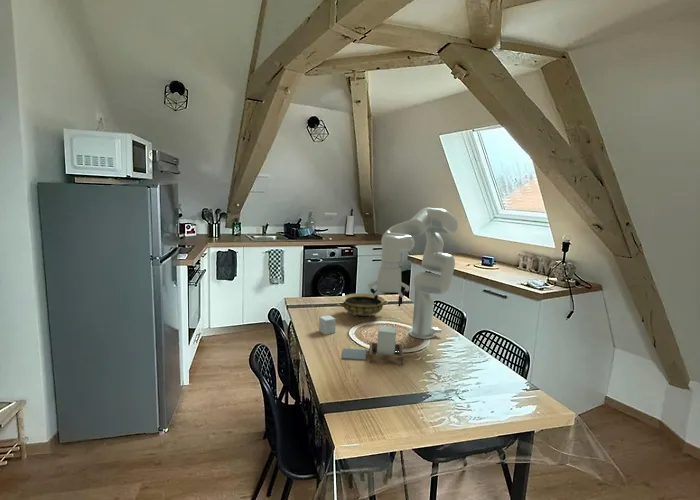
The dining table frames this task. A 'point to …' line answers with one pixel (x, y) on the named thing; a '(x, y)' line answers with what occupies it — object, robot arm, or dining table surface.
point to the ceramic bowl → (362, 304)
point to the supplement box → (386, 340)
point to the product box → (327, 324)
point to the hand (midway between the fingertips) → (387, 304)
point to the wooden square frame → (386, 358)
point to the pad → (354, 354)
